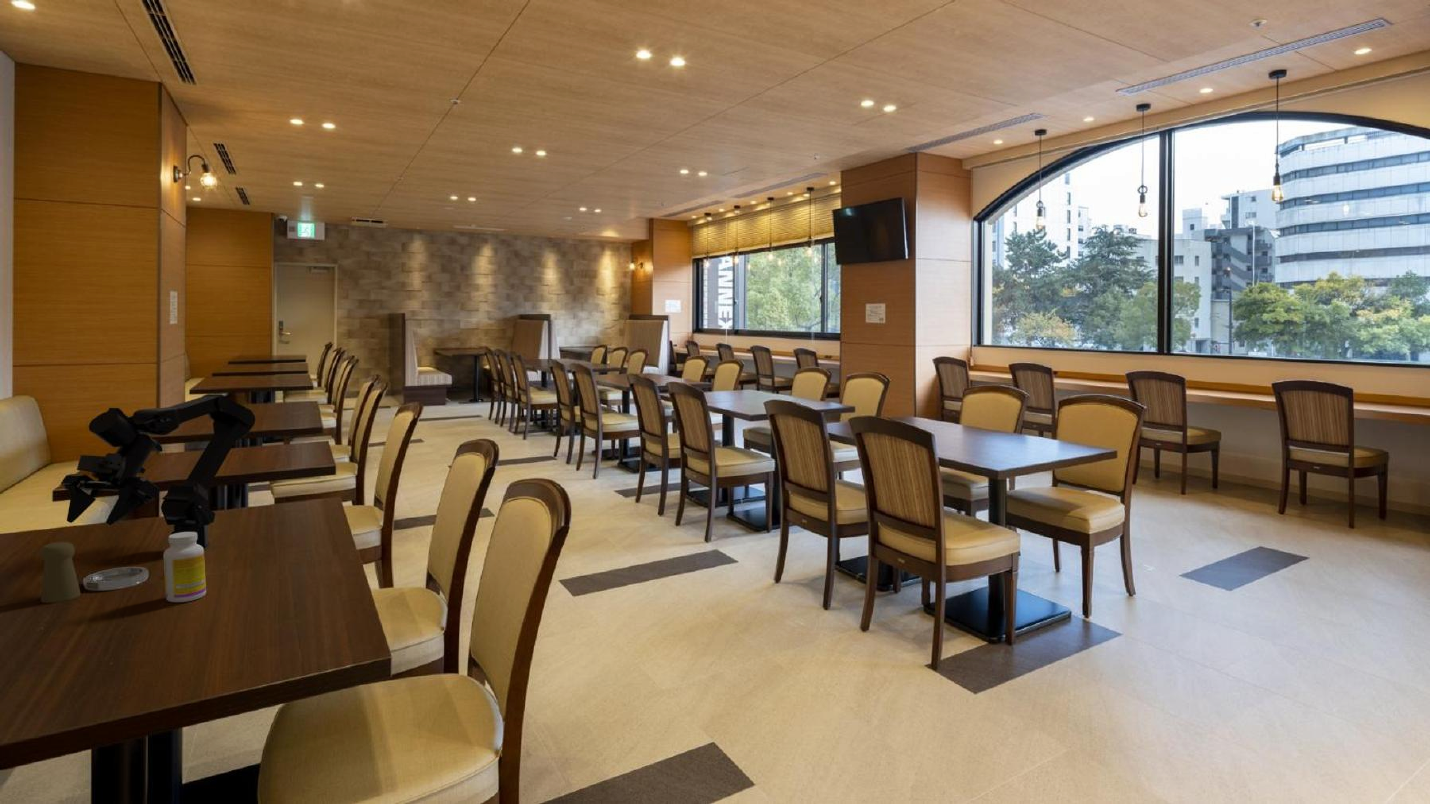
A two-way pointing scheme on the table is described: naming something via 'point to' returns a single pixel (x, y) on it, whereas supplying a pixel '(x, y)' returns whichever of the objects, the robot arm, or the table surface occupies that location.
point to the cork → (58, 573)
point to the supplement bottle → (184, 568)
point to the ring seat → (115, 578)
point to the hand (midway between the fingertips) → (88, 523)
